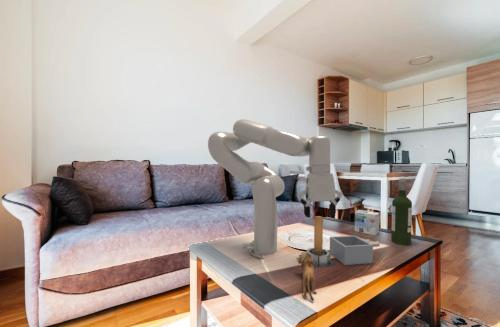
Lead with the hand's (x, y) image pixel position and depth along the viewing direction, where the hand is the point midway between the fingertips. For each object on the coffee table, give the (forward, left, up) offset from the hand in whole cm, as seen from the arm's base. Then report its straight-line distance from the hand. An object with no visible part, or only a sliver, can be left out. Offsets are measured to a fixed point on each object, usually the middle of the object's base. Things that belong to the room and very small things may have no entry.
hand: (319, 216), depth 91 cm
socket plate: (0, 0, -18) cm, 18 cm away
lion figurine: (-11, -15, -18) cm, 26 cm away
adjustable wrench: (+24, +13, -19) cm, 33 cm away
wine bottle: (+49, +16, -18) cm, 54 cm away
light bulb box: (+43, +33, -18) cm, 57 cm away
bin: (+13, 0, -18) cm, 22 cm away
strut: (0, 0, -16) cm, 16 cm away
